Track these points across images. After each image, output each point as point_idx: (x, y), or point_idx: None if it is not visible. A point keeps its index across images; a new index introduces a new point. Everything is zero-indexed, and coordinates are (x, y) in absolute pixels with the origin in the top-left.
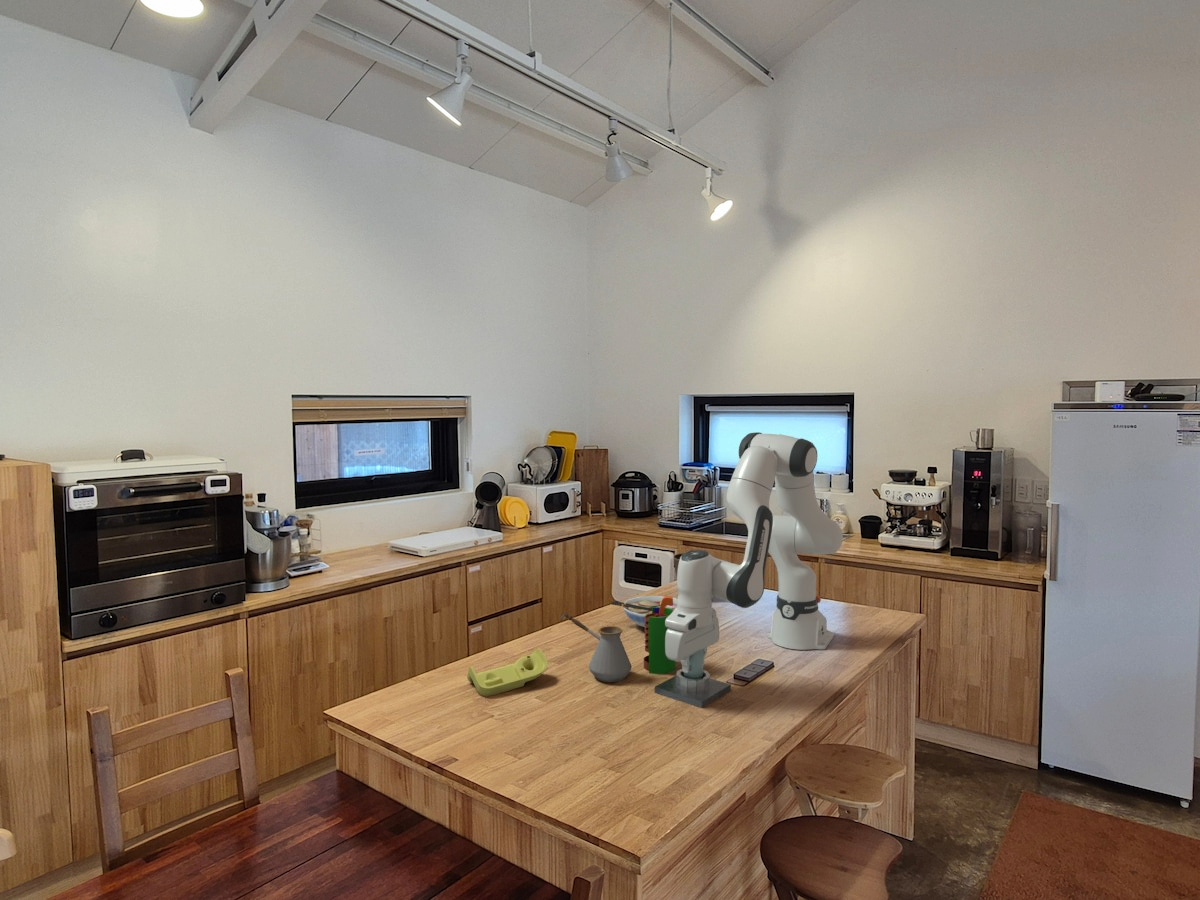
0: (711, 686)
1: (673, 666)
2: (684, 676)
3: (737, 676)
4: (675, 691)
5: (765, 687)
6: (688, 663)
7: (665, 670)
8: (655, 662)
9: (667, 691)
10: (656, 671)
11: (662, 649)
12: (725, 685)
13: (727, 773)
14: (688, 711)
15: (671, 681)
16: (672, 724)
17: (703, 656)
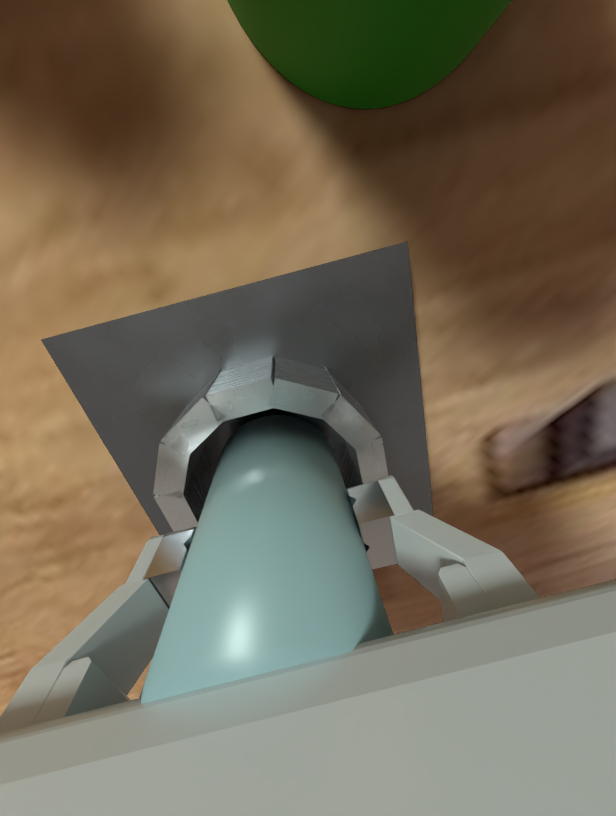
0: None
1: (421, 78)
2: (218, 464)
3: (579, 416)
4: (137, 459)
5: (536, 542)
6: (144, 658)
7: (324, 85)
8: None
9: (98, 429)
10: (255, 28)
11: None
12: None
13: None
14: (127, 560)
15: (201, 335)
16: (5, 605)
17: (414, 574)
